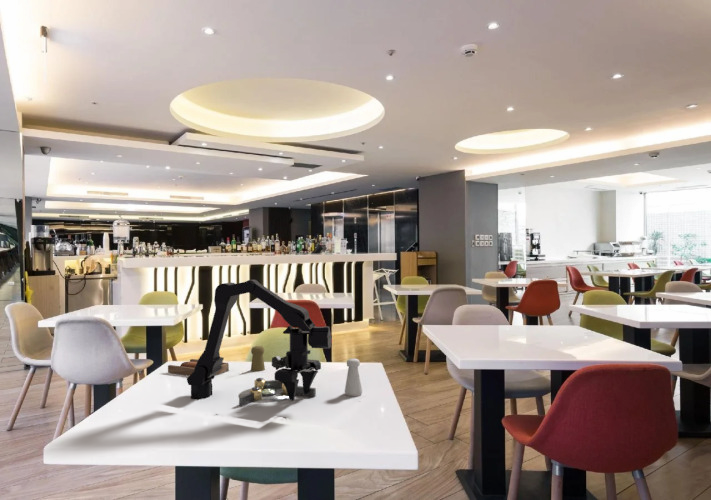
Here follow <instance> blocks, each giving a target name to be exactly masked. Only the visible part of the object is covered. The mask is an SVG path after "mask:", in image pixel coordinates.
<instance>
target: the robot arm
mask: <svg viewBox="0 0 711 500" xmlns="http://www.w3.org/2000/svg"><path fill="white" fill-rule="evenodd" d="M243 294H250V295H253V297H255V298H256V299H258V300H260V301H261V302H262V303H264V304H266V305H267V306H268V307H270V308H272V309H273V310H275V311H276V312H277V313H278V314H279V315H280V316H281V317H282V319H283V320H284V321H285V322H286V323H287V324H288V326H287V327H286V329H285V330H283V332H282V333H283V334H285V335H289V350H288V351H286V353H285V356H283V357H281V356H279V355H277V356H276V355H275V356H273V357H271V366H272V367H273V368H275V370H276V371H275V372H274V380H278V381H279V382H282V383H283V384H284V385H285V387H286V390H287V393H288V396H289V401H291V402H293V401H294V400H295V397H296V395H295V394H296V390H297V386H299V381H300V379H298V377H299V374H300V376H301V379H302V381H301V382H302V387H303V391H304V394H307V393H308V391H309V389H310V388H311V387H312V383H314V380H315V377H316V376H317V373H319V370H322V363H321V362H320V361H319V360H318V359H317V360H316V359H309V358H308V357H309V355H310V354H311V350H310V349H309V346H310V348H311V349H331V346H332V342H333V341H332V339H333V336H332V333H331V329H330V326H326V325H325V326H316V324H315V323H314V322H313V321H312V319H311V317H310V313H309V311H308V310H307V308H305V307H303V306H301V305H298V304H295V303H292V302H289V301H287V300H286V299H284V298H283V297H280V295H278V294H276V293H275V292H273V291H272V290H271V289H269V288H267V287H266V286H264V285H263V284H262V283H260V282H259V281H258V280H257V279H248V280H245V281H243V282H237V283H235V282H225V283H220V284H218V285H217V286H216V288H215V290H214V306H215V310H214V314H213V318H212V320H211V321H212V322H211V324H210V325H211V326H210V329H209V332H208V336H207V340H206V344H205V348H204V351H203V352H202V354H201V355H200V357H199V358H198V359H197V360H198V361H197V364H196V366H195V368H194V372H193V373H192V374H191V375H190V376H188V377H187V378H186V381H187V384H188V386H190V399H191V400H197V401H199V400H204V399H208V398H210V397H211V396H212V395H213V382H212V381H213V380H214V379H215V376H216V375H215V374H216V373H218V371H219V370H220V369H222V368H221V365H222V362H224V358H225V357H223V356H222V357H221V356H220V355H221V354H220V350H221V346H222V342H223V338H224V335H225V330H226V327H227V325H228V319H229V315H230V313H231V311H232V309H233V307H234V306H235V304H236V303H237V301H238V298H239V296H240V295H243ZM308 345H309V346H308Z"/></svg>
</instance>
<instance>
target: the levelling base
mask: <svg viewBox="0 0 711 500" xmlns="http://www.w3.org/2000/svg"><path fill="white" fill-rule="evenodd" d="M288 399H289V396H288V395H285V394H282V388H275V389H263V390H261V389H260V388H259V387H255V386H253V387H251V388H248V389H245V390H242V391H241V392H240V393H239V394H238V406H239V407H244V406H247V405H249V404H251V403H254V404H255V403H256V404H261V403H262V404H264V403H265V404H266V403H269V404H270V403H277V402H282V401H286V400H288ZM289 400H290V399H289Z"/></svg>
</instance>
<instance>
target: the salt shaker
mask: <svg viewBox="0 0 711 500" xmlns="http://www.w3.org/2000/svg"><path fill="white" fill-rule="evenodd" d="M360 362H361V361H360V360H359V358H354V357H353V358H349V359H347V360H346V366H347V374H346V379H345V381H346V382H345V388H344V394H345V395H346V396H348V397H359V396H362V394H363V388H362V383H361V378H360V373H359V367H360V364H361V363H360Z"/></svg>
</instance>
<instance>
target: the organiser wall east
mask: <svg viewBox="0 0 711 500" xmlns="http://www.w3.org/2000/svg"><path fill="white" fill-rule="evenodd" d="M197 361H198V359H196V358H195V359H194V358H191V359H189V362H197ZM223 364H229V362H224V361H223V362H222V365H223Z"/></svg>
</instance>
